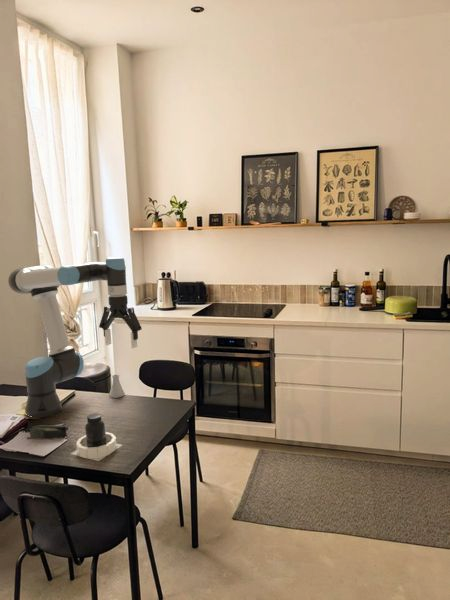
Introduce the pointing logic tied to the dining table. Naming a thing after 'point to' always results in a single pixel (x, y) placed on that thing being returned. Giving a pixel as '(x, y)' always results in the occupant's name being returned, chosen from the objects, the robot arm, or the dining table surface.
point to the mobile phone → (47, 432)
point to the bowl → (96, 451)
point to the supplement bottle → (95, 431)
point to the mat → (100, 457)
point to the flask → (116, 388)
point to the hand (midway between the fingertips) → (121, 346)
